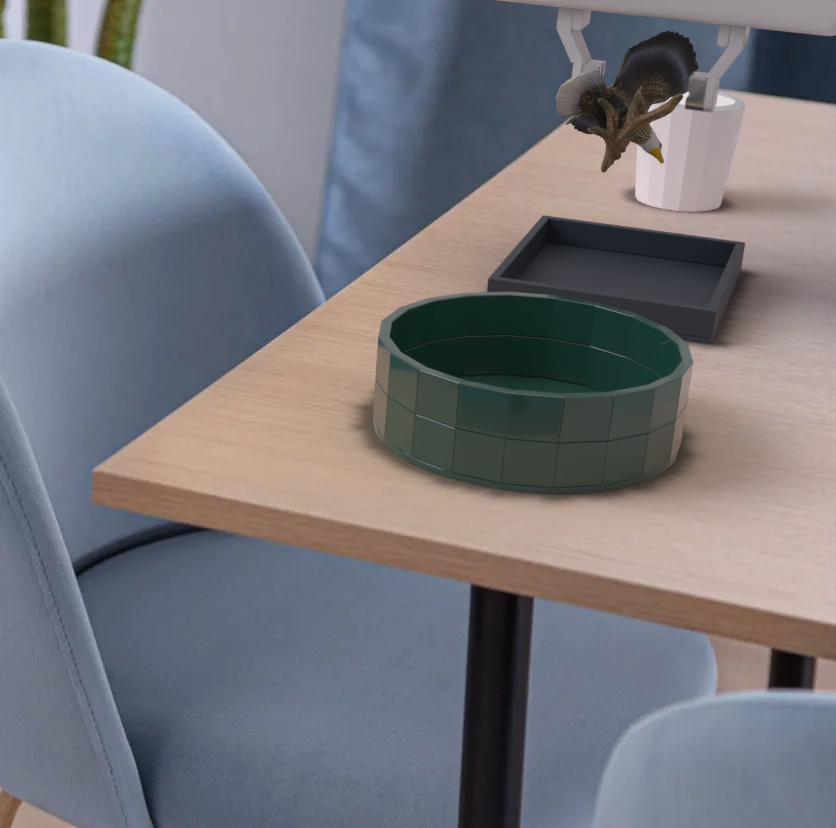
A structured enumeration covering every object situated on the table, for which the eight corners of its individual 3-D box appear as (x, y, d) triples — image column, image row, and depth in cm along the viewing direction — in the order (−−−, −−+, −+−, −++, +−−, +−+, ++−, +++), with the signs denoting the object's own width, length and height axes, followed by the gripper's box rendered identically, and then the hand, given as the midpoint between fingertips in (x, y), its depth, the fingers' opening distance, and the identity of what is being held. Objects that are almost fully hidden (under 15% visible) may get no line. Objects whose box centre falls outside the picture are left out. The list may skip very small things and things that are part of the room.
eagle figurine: (717, 163, 91) (726, 97, 98) (654, 43, 88) (668, -16, 95) (585, 223, 94) (603, 155, 101) (521, 110, 91) (544, 48, 99)
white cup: (731, 221, 114) (748, 112, 111) (624, 210, 115) (638, 103, 112) (728, 195, 120) (744, 91, 117) (626, 185, 121) (640, 82, 118)
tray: (539, 247, 106) (542, 214, 106) (740, 275, 103) (745, 242, 102) (484, 314, 94) (488, 278, 94) (710, 348, 91) (716, 311, 90)
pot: (433, 362, 87) (441, 274, 85) (706, 415, 82) (721, 323, 81) (325, 456, 76) (331, 357, 74) (634, 524, 71) (649, 420, 69)
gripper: (896, -162, 88) (844, 114, 94) (498, -193, 94) (473, 70, 100) (891, -155, 83) (837, 139, 89) (469, -188, 88) (444, 90, 94)
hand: (641, 102), depth 94 cm, fingers closed on eagle figurine, 5 cm apart
